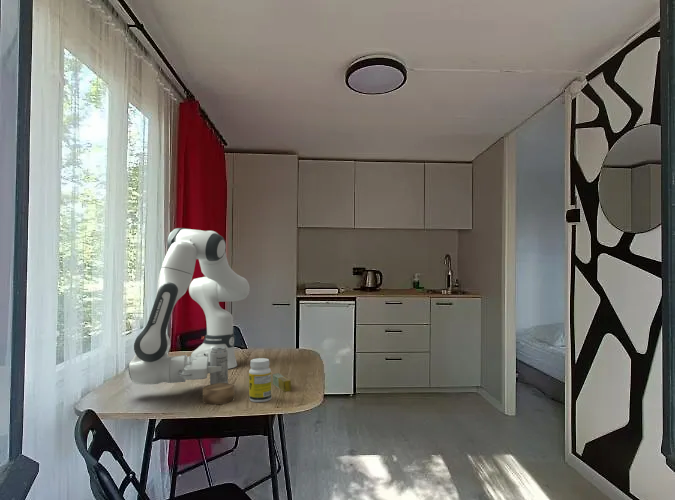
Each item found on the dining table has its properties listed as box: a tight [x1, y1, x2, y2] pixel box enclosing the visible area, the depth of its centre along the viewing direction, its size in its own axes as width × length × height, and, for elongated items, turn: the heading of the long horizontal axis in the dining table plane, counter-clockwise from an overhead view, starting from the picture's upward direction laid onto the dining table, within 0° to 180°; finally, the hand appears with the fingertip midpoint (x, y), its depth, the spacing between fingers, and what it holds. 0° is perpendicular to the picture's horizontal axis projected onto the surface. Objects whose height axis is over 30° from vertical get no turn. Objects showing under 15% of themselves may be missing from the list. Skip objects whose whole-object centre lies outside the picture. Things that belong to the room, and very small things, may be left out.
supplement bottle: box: [248, 357, 273, 403], centre depth 154 cm, size 7×7×13 cm
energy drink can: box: [209, 347, 229, 385], centre depth 165 cm, size 6×6×15 cm
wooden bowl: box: [202, 382, 235, 405], centre depth 155 cm, size 10×10×4 cm
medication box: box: [272, 372, 292, 393], centre depth 168 cm, size 12×3×4 cm, turn 28°
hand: (221, 366), depth 166 cm, fingers closed on energy drink can, 5 cm apart
